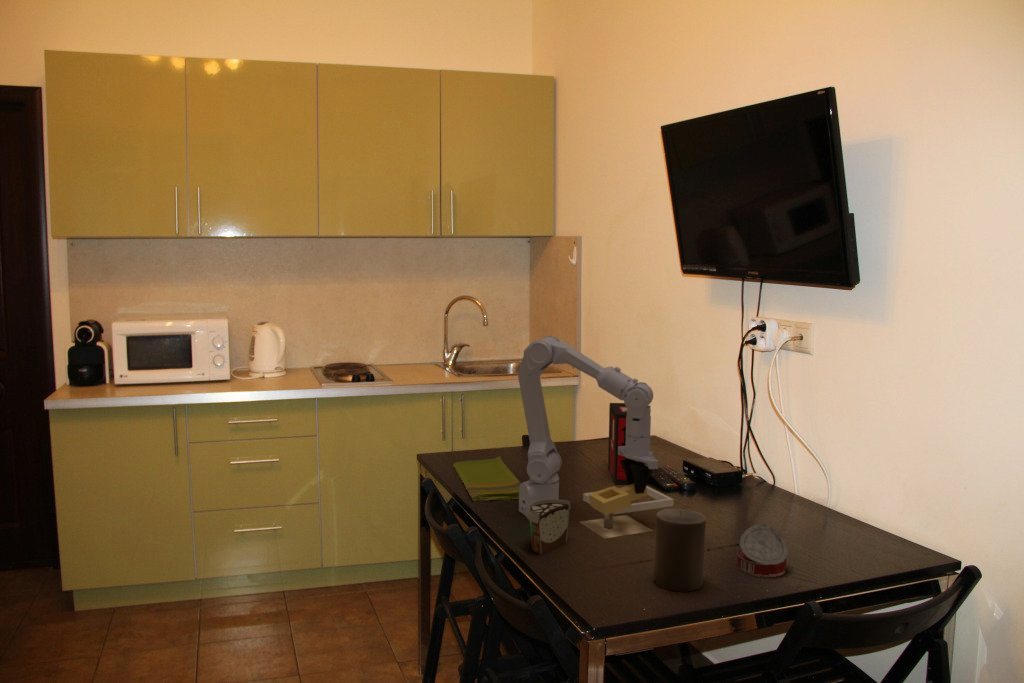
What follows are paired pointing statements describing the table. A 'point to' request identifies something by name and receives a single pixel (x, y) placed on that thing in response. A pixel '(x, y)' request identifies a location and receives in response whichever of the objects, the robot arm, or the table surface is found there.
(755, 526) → the canned food
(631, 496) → the tabbed collar
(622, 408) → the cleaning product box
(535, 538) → the food container
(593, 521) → the board
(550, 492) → the robot arm
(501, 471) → the dish towel
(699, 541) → the pillar candle
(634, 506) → the tray
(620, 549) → the table surface
